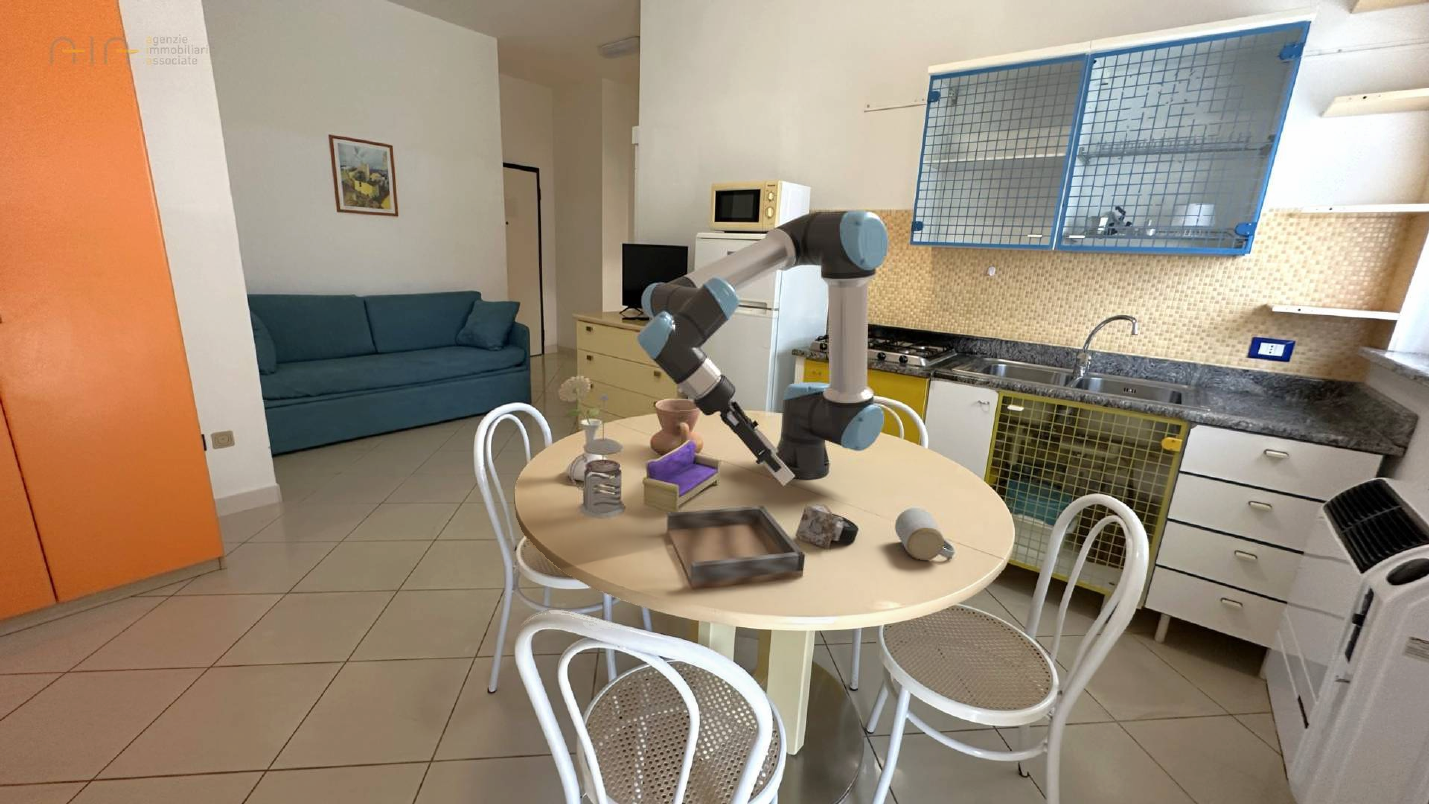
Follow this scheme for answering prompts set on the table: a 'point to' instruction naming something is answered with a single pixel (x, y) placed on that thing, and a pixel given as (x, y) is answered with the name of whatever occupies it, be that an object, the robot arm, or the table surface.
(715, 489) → the table surface
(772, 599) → the table surface
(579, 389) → the flower in vase
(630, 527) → the table surface
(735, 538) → the square tray
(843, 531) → the caster wheel
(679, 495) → the toy sofa
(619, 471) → the french press
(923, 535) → the ceramic mug
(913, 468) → the table surface
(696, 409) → the ceramic jug
